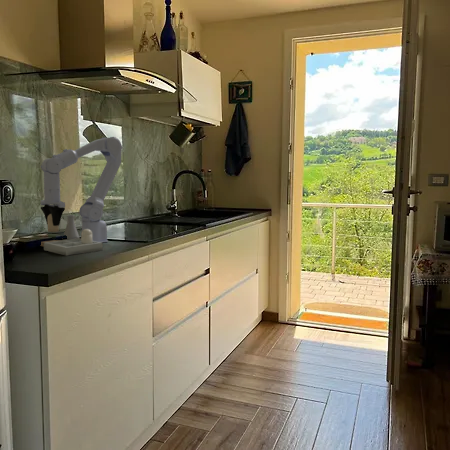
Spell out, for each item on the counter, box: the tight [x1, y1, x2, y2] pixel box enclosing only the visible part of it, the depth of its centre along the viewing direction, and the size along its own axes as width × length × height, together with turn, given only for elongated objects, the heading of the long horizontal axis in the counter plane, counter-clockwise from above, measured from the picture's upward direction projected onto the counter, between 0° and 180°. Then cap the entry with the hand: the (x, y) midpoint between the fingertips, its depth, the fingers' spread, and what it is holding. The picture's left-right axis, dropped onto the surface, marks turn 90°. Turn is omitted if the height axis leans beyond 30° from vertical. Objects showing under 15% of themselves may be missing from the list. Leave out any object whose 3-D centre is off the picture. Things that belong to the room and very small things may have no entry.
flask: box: [63, 214, 81, 240], centre depth 195 cm, size 7×7×10 cm
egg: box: [47, 214, 60, 233], centre depth 175 cm, size 4×4×7 cm
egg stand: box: [40, 239, 60, 248], centre depth 176 cm, size 7×7×2 cm
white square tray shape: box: [43, 229, 104, 257], centre depth 168 cm, size 15×15×8 cm
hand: (53, 225), depth 175 cm, fingers closed on egg, 4 cm apart
